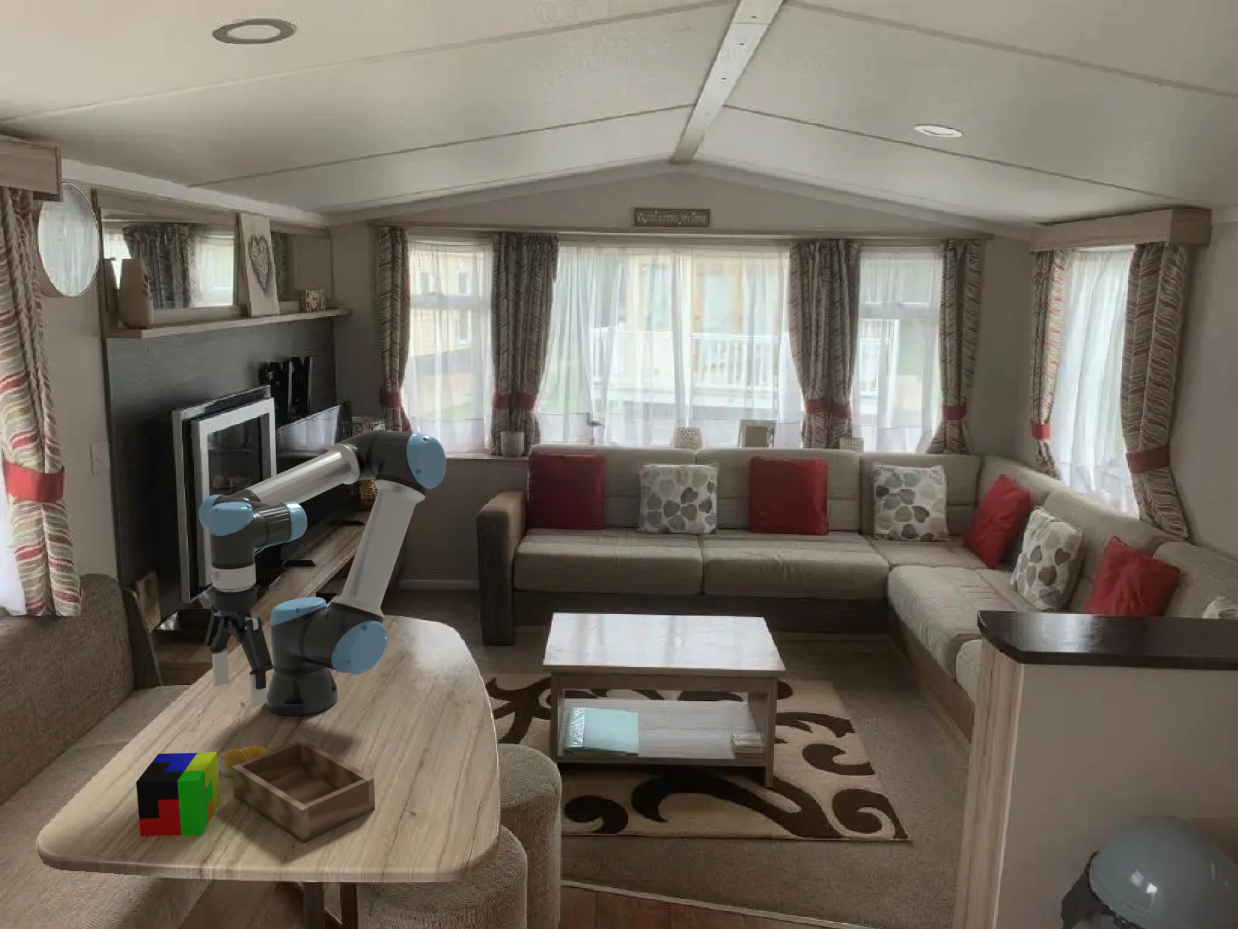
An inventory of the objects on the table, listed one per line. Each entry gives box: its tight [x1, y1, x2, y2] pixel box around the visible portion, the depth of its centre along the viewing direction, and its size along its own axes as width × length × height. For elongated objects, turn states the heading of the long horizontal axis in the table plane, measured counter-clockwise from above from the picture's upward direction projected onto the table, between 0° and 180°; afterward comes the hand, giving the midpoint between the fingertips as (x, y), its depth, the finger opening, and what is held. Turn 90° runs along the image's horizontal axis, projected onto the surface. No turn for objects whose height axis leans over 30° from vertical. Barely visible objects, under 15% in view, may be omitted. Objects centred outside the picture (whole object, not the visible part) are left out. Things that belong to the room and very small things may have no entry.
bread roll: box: [218, 745, 269, 778], centre depth 190 cm, size 8×9×4 cm
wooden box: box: [232, 739, 376, 844], centre depth 177 cm, size 22×14×6 cm, turn 50°
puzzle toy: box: [135, 751, 221, 837], centre depth 171 cm, size 10×10×10 cm
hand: (239, 694), depth 187 cm, fingers open, 13 cm apart
